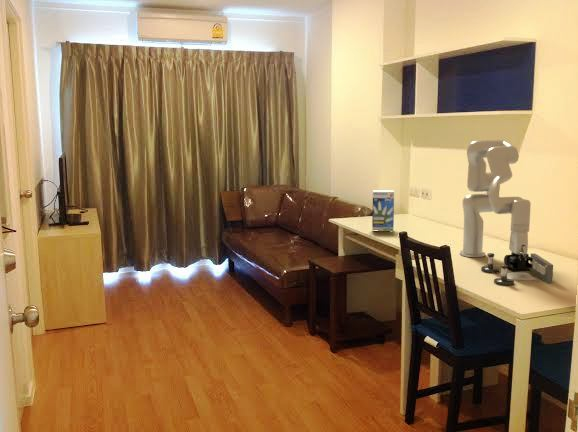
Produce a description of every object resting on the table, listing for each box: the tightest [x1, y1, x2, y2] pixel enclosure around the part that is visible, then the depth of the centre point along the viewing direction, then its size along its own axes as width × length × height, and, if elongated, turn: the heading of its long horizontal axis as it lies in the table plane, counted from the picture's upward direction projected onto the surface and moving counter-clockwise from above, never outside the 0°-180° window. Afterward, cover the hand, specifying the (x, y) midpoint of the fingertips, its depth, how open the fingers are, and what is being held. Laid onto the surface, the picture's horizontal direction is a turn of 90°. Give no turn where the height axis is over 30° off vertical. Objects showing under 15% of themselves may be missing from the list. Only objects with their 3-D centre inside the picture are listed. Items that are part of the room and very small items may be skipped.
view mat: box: [499, 272, 537, 281], centre depth 244 cm, size 10×12×1 cm
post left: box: [480, 252, 501, 274], centre depth 253 cm, size 8×8×8 cm
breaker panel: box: [529, 253, 554, 284], centre depth 243 cm, size 20×3×8 cm, turn 177°
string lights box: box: [371, 189, 395, 232], centre depth 346 cm, size 13×8×26 cm, turn 76°
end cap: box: [503, 253, 533, 273], centre depth 243 cm, size 10×7×7 cm
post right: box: [493, 263, 515, 287], centre depth 235 cm, size 8×8×8 cm
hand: (518, 266), depth 243 cm, fingers closed on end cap, 7 cm apart
